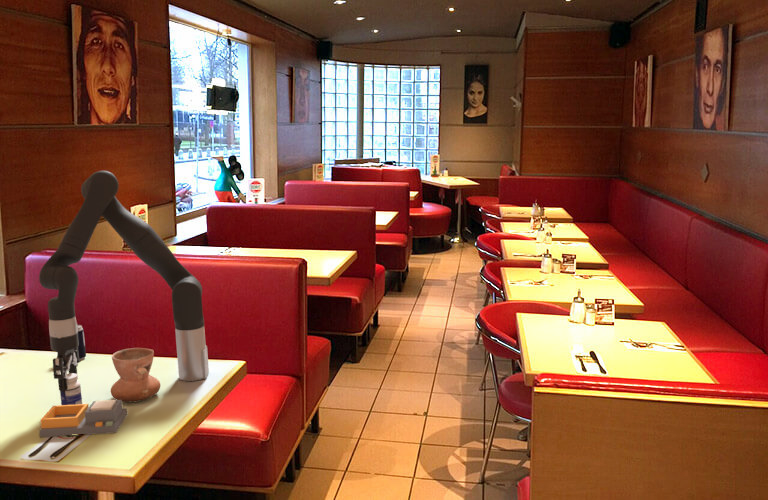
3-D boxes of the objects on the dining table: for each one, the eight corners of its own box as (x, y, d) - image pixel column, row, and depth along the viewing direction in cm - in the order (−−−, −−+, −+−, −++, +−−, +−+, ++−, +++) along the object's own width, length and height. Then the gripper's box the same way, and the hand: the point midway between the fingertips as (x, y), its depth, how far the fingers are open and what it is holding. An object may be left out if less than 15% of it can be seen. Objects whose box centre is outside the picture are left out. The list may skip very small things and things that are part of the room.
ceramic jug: (169, 399, 215) (166, 354, 213) (121, 411, 207) (117, 364, 204) (149, 384, 229) (145, 341, 227) (103, 394, 221) (99, 350, 219)
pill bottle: (61, 406, 212) (57, 374, 210) (81, 402, 215) (78, 371, 213) (62, 412, 207) (58, 380, 205) (83, 408, 210) (80, 377, 208)
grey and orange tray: (127, 414, 205) (125, 396, 204) (116, 432, 193) (114, 413, 192) (55, 418, 203) (53, 400, 202) (39, 437, 191) (37, 418, 190)
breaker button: (117, 413, 201) (116, 399, 200) (112, 420, 196) (110, 407, 195) (97, 414, 200) (96, 400, 200) (91, 422, 195) (90, 408, 194)
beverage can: (72, 356, 257) (69, 324, 255) (88, 356, 258) (85, 324, 255) (66, 361, 252) (63, 329, 249) (83, 361, 252) (79, 328, 250)
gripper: (59, 325, 214) (64, 376, 217) (40, 340, 200) (46, 394, 203) (85, 325, 214) (89, 375, 217) (68, 339, 200) (73, 393, 203)
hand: (68, 384), depth 210 cm, fingers open, 8 cm apart
